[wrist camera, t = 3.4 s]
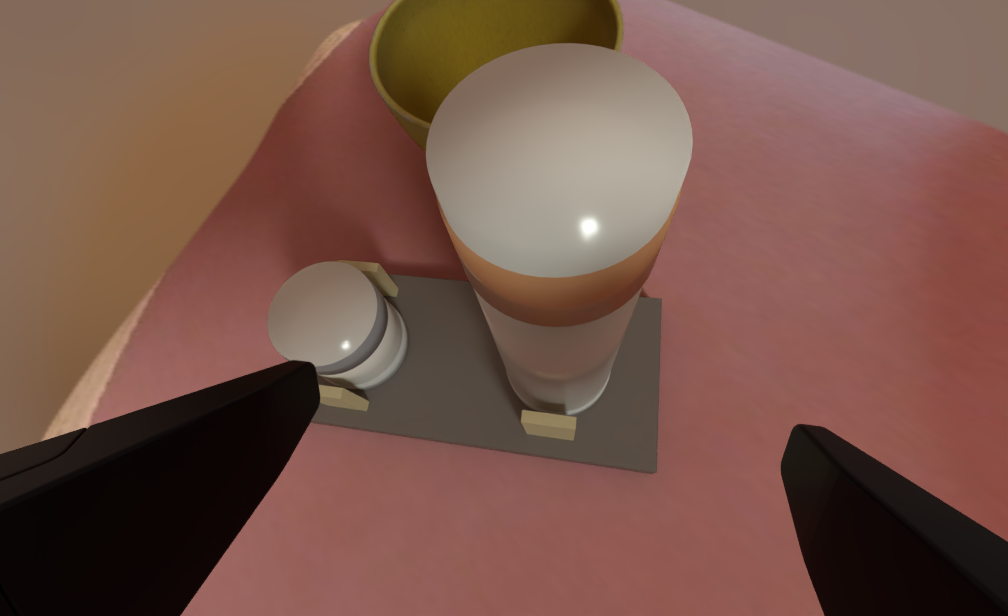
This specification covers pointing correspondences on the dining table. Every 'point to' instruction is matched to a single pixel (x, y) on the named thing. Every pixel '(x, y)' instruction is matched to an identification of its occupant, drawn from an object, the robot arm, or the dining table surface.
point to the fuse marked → (559, 205)
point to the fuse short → (338, 326)
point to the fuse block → (498, 385)
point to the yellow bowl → (471, 45)
